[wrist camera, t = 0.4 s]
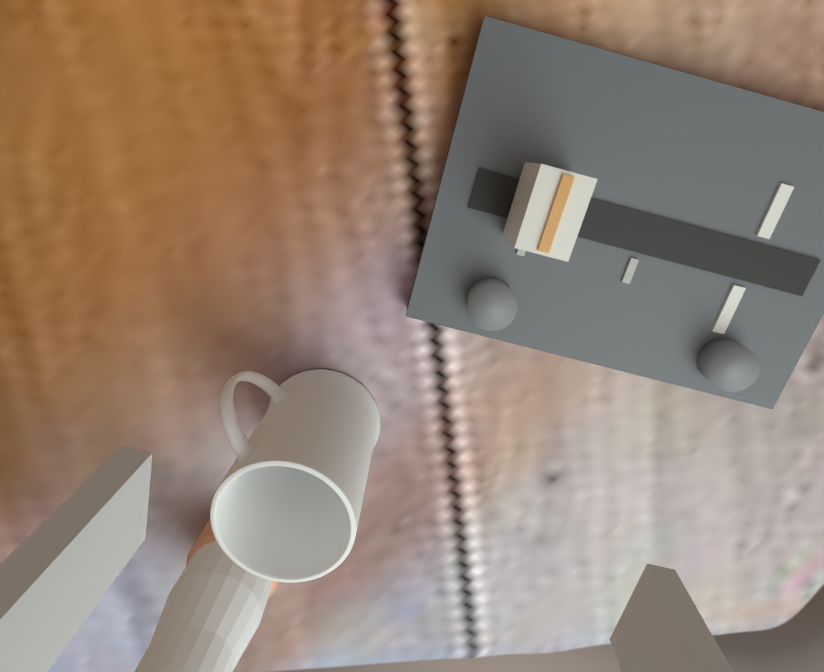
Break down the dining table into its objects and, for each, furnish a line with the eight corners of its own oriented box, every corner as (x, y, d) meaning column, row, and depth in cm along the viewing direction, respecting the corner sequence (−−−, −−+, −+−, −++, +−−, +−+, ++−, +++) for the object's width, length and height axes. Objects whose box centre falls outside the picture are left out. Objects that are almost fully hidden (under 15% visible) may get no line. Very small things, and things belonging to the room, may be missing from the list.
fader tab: (524, 162, 32) (541, 163, 27) (572, 175, 32) (598, 179, 27) (502, 234, 33) (514, 248, 28) (548, 246, 33) (569, 262, 28)
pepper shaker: (221, 582, 46) (83, 862, 28) (190, 512, 44) (19, 769, 25) (301, 568, 45) (213, 848, 27) (274, 497, 43) (159, 750, 25)
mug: (223, 361, 39) (137, 446, 28) (322, 311, 38) (275, 379, 26) (305, 484, 42) (258, 606, 31) (400, 443, 41) (388, 555, 29)
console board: (481, 24, 31) (488, 6, 28) (889, 139, 33) (949, 137, 29) (407, 307, 37) (404, 325, 33) (755, 396, 38) (790, 423, 35)
